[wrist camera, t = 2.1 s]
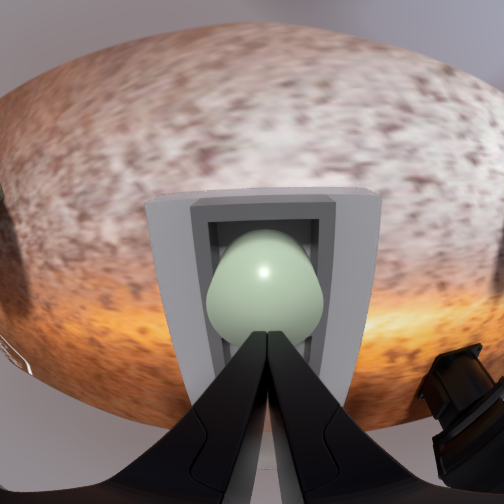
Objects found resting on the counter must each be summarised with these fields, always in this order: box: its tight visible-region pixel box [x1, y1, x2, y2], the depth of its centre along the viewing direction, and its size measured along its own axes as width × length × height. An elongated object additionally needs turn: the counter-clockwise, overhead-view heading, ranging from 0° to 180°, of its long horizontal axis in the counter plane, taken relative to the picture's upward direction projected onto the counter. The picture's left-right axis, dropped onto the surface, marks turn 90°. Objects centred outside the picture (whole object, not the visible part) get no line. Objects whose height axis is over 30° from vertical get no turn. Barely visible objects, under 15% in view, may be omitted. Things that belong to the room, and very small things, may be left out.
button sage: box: [206, 229, 323, 348], centre depth 10 cm, size 4×4×3 cm
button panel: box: [145, 187, 382, 407], centre depth 16 cm, size 12×18×4 cm, turn 3°
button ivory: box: [257, 431, 277, 470], centre depth 15 cm, size 4×4×3 cm
